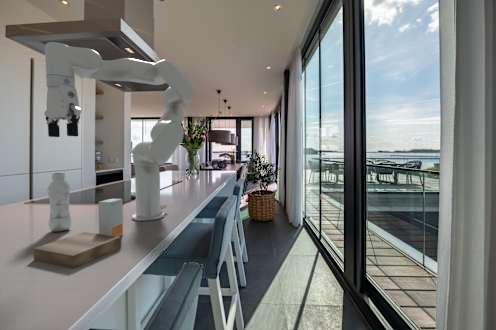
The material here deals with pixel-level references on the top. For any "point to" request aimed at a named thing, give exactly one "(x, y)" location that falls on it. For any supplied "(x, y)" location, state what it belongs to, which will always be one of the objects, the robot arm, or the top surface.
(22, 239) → the top surface
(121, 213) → the skincare box
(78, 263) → the walnut base
